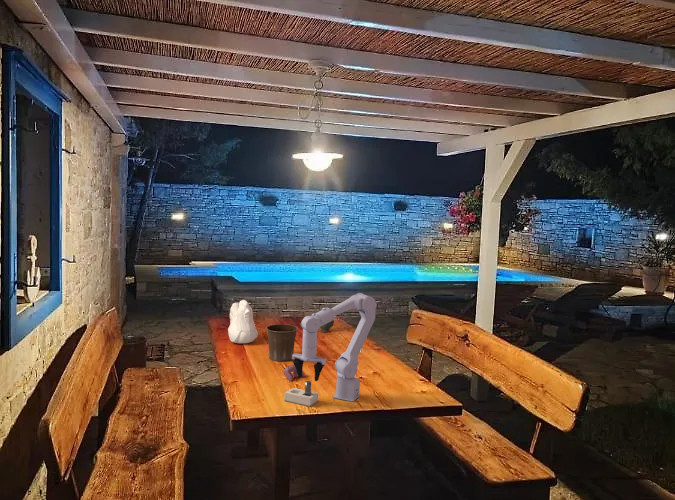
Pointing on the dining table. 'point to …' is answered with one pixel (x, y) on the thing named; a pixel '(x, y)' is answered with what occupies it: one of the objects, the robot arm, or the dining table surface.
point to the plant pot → (281, 341)
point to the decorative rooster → (242, 323)
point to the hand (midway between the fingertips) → (308, 378)
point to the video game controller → (289, 375)
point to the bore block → (300, 397)
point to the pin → (308, 388)
